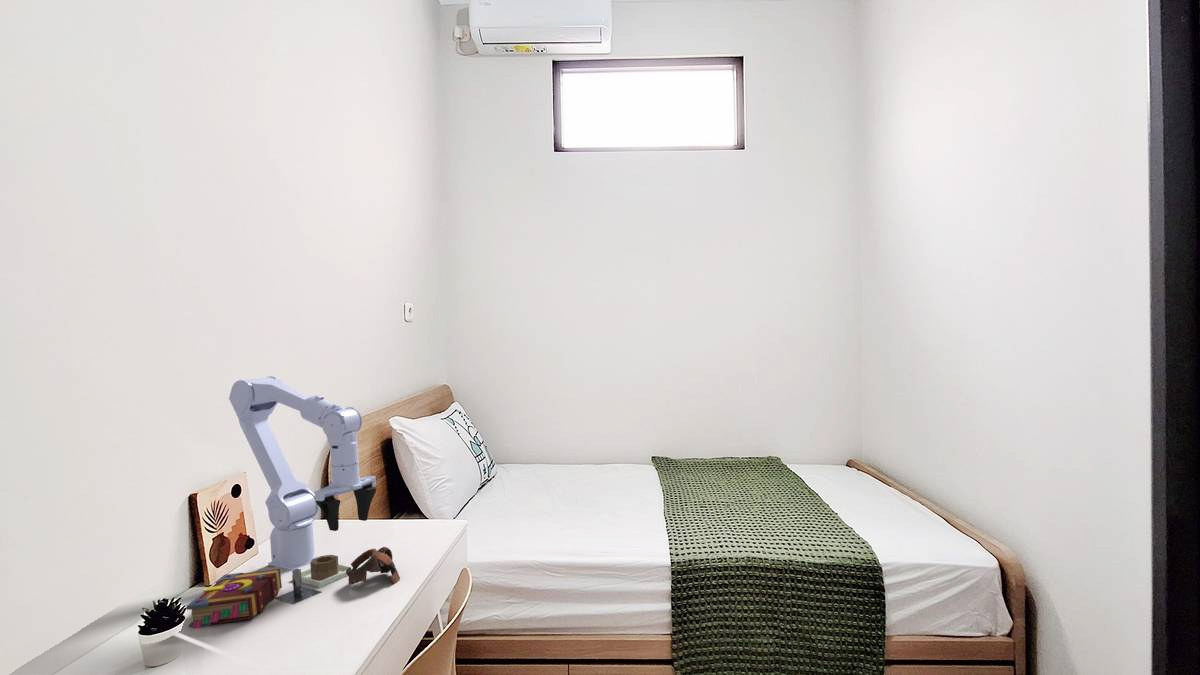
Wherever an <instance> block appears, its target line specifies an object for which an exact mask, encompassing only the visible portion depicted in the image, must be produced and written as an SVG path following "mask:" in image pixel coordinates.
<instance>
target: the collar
mask: <svg viewBox="0 0 1200 675" xmlns="http://www.w3.org/2000/svg"><path fill="white" fill-rule="evenodd" d="M338 563H339V556H338V555H334V554H328V555H327V554H326V555H320V556H318V557H317V558H314V559H312V561H311V562H310V564H309V565H310V568H311V579H314V580H318V581H319V580H324V579H326V578H329V577H331V576H334V575H336V574H338V573H339V566H338Z"/></svg>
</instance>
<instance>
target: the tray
mask: <svg viewBox="0 0 1200 675" xmlns="http://www.w3.org/2000/svg"><path fill="white" fill-rule="evenodd" d="M338 566H339V573H338V574H336V575H334V576H331V577H329V578H326V579H324V580H319V581H318V580H314V579H311V567H310V568H308V569H304V570H303V571H302V570H301V577H302V584H303V585H304V584H306V585H307V586H308V585H309V586H313V587H315V588H322V587H325V586H327V585H330V584H332V583H335V582H336V581H337V582H338V581H339V580H342V579H343V578H346V577H349V576H348V575H347V574H346V570H347V569H348V567H350V568H351V570H352V569H353V567H352V566H351V565H347V564H344V563H340V562H338ZM291 577H292V578H291V580H292V581H293V575H292V574H291Z"/></svg>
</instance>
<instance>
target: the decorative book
mask: <svg viewBox="0 0 1200 675" xmlns="http://www.w3.org/2000/svg"><path fill="white" fill-rule="evenodd" d="M282 587H283V586H282V576H281V569H280V568H276V569H268V570H261V571H259V570H258V571H252V572H245V573H244V572H238V573H237V572H235V573H228V574H227V573H226V574H224V575H222V576H221V577H220V578H218V580H216V581H215V584H213V585H212V586H208V587H207V588H205V589H204V590H203V593H202V594H201V595H200V596H199V597H196V598H194V600H192V601H191V602H190V603H188V604H187V605H186V610H187V611H188V610H191V616H192V620H191V622H190V623H189V624H188V628H189V629H193V630H194V629H201V627H210V626H212V625H214V624H215V625H216V624H223V623H231V622H238V621H239V622H240V621H245V620H252V619H253V618H254V617H255V616H257V614H261V613H262V612H263V611H264V610H265V609H266V608H265V607H266V605H267V604H268V603H269V602H270V601H271V600H272V599H274V598H276V597H278V596H279V591H280V590H281V589H282Z"/></svg>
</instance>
